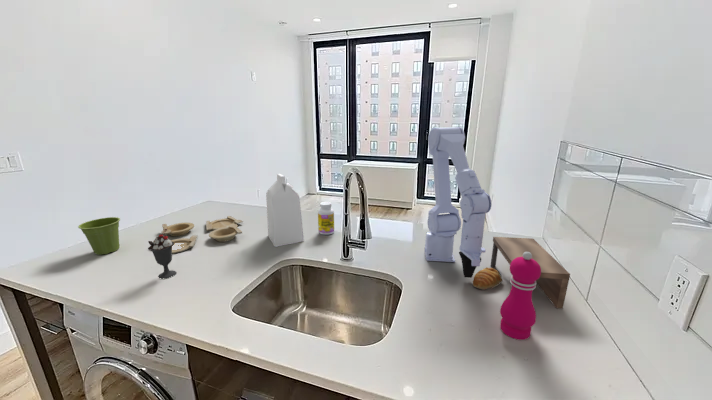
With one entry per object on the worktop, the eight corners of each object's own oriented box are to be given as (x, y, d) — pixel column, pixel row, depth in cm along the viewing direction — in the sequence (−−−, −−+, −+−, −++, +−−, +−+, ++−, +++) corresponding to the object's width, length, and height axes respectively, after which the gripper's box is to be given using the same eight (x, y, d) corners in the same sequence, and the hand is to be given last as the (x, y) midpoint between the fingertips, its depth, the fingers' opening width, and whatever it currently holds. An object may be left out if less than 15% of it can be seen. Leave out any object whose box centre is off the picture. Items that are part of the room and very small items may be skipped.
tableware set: (238, 218, 148) (237, 210, 147) (253, 239, 124) (252, 229, 122) (153, 233, 130) (151, 224, 129) (150, 260, 106) (148, 250, 105)
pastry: (488, 295, 85) (490, 283, 84) (466, 285, 90) (467, 273, 88) (503, 282, 91) (504, 271, 90) (481, 274, 96) (482, 263, 94)
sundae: (184, 271, 98) (176, 227, 94) (165, 282, 92) (156, 236, 88) (169, 268, 100) (160, 225, 96) (149, 278, 94) (139, 233, 90)
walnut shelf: (513, 305, 80) (518, 271, 77) (489, 264, 101) (493, 236, 98) (562, 308, 78) (570, 274, 75) (528, 266, 99) (533, 238, 96)
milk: (268, 235, 126) (262, 173, 118) (295, 230, 131) (291, 170, 123) (274, 246, 115) (268, 179, 108) (304, 240, 120) (300, 176, 113)
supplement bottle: (319, 236, 125) (318, 206, 121) (317, 230, 131) (316, 201, 127) (335, 234, 126) (334, 204, 123) (333, 228, 133) (332, 200, 129)
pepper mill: (491, 321, 74) (502, 245, 68) (520, 319, 75) (533, 244, 69) (508, 342, 67) (522, 260, 61) (539, 340, 68) (555, 259, 62)
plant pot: (127, 241, 121) (120, 214, 118) (126, 252, 112) (119, 223, 108) (88, 249, 115) (80, 221, 112) (84, 261, 105) (75, 231, 102)
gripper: (494, 245, 80) (488, 291, 84) (480, 225, 94) (476, 265, 97) (466, 244, 81) (461, 289, 85) (456, 224, 95) (453, 264, 98)
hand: (467, 276), depth 91 cm, fingers closed
